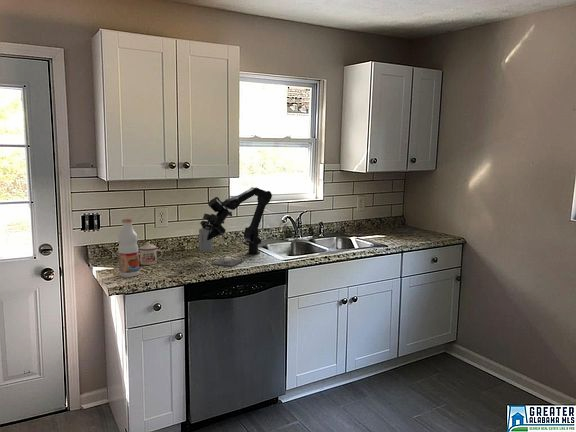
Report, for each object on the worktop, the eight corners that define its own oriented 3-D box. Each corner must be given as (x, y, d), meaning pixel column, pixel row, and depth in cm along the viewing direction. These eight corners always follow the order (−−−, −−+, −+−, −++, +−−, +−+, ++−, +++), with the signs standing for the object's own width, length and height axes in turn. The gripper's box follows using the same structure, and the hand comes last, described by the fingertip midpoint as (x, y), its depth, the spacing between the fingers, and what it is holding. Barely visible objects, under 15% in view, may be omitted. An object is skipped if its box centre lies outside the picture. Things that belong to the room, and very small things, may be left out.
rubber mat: (223, 259, 272) (223, 254, 271) (243, 261, 267) (243, 256, 266) (211, 264, 260) (211, 258, 259) (232, 267, 255) (232, 261, 254)
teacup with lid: (140, 265, 256) (139, 244, 254) (139, 262, 264) (138, 241, 262) (163, 264, 260) (162, 243, 258) (161, 260, 268) (161, 240, 266)
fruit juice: (125, 272, 243) (123, 217, 239) (142, 273, 241) (140, 218, 237) (115, 277, 234) (113, 220, 229) (133, 278, 232) (131, 221, 228)
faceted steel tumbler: (204, 248, 271) (203, 227, 269) (215, 249, 268) (214, 228, 266) (196, 250, 264) (196, 229, 262) (208, 252, 262) (207, 230, 260)
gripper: (202, 206, 272) (185, 227, 267) (220, 210, 258) (203, 232, 253) (214, 218, 279) (198, 239, 273) (232, 222, 265) (216, 245, 259)
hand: (203, 238), depth 264 cm, fingers closed on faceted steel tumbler, 7 cm apart
